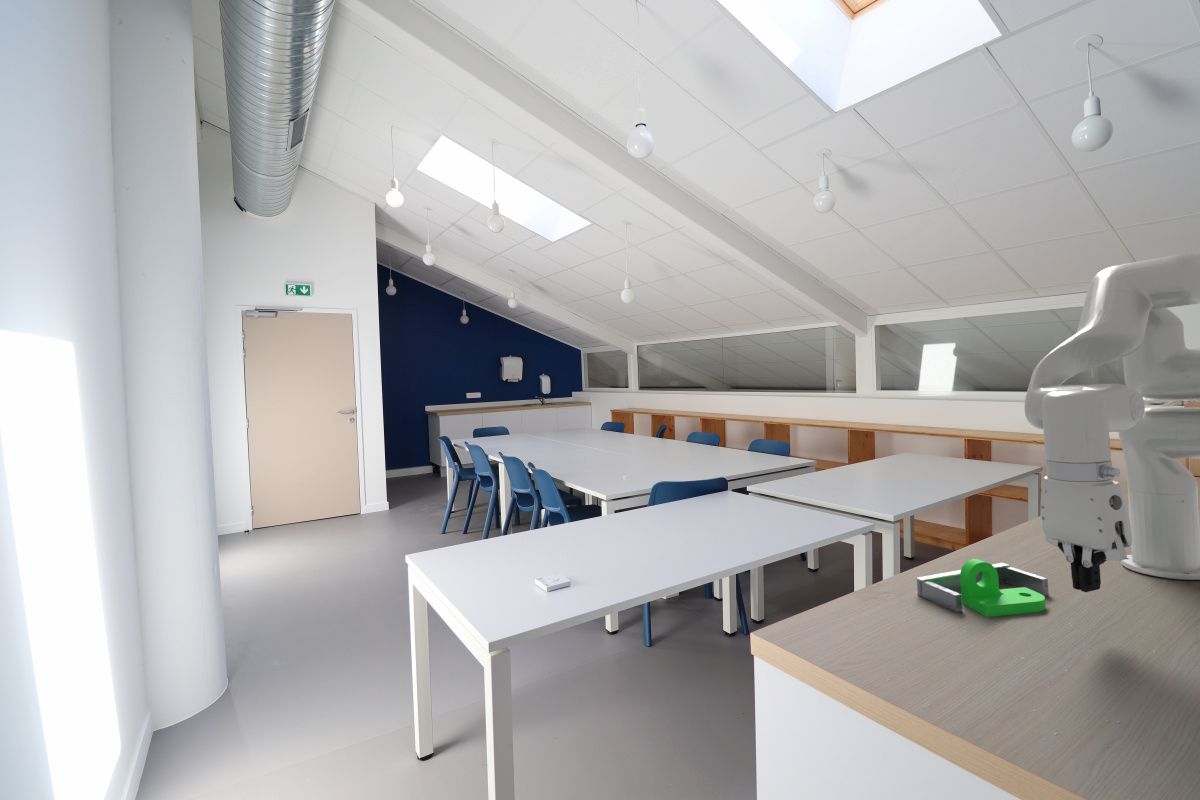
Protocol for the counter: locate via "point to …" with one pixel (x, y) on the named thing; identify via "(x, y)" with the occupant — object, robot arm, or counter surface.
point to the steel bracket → (946, 584)
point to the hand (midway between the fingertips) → (1086, 588)
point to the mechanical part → (995, 592)
